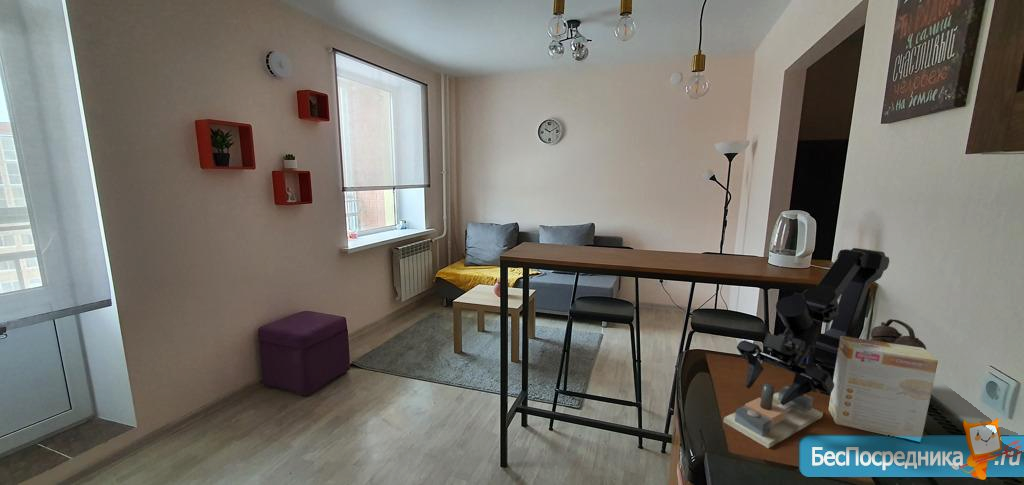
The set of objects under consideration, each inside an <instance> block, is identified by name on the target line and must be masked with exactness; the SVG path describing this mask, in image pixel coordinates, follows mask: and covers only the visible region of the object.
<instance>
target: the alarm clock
mask: <svg viewBox="0 0 1024 485" xmlns="http://www.w3.org/2000/svg"><path fill="white" fill-rule="evenodd" d="M892 323H896V324H899V325H901V326H903V327H904V328H905V329H906V330H907V332H908V334H909V335H903V334H902V333H901V332H899V331H898V329H896V328H895V327H894V326H892V325H891V324H892ZM890 325H891V326H890ZM870 340H872V341H879V342H886V343H892V344H899V345H906V346H913V347H920V348H924V349H925V350H927V347H926V344H924V342H923V341H922V340H921V339H919V338H918V337H916V335H915V331H914V329H913V328H912V327H911V325H908V324H907V323H905V322H904V321H901V320H899V319H892V318H891V319H888V320H887V321H886V322H885V321H881V323H880V325H878V326H874V327H873V328H872V329H871V331H870Z"/></svg>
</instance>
